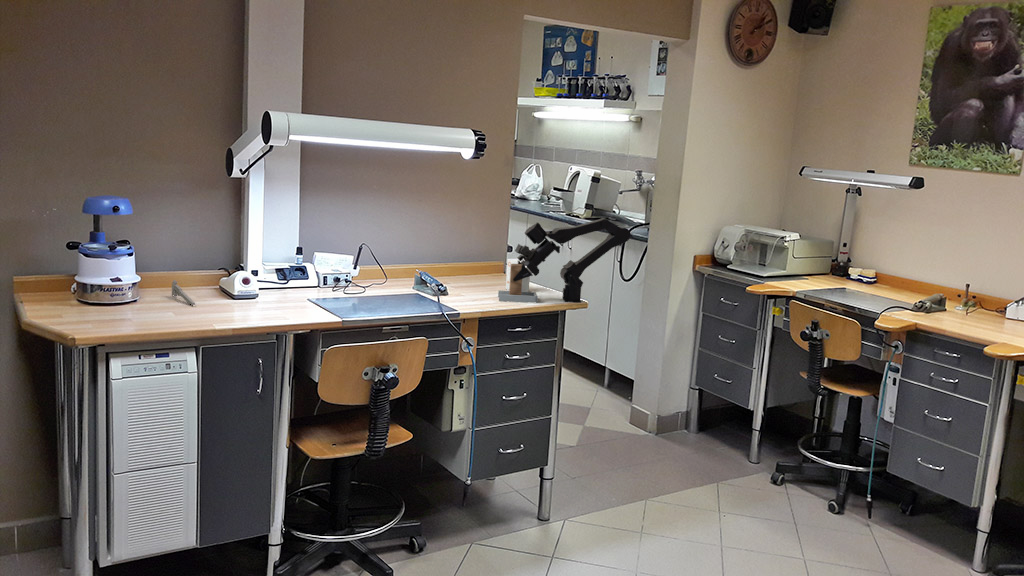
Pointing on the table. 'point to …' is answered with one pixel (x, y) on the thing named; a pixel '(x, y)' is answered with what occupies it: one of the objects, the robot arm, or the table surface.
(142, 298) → the table surface
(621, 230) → the robot arm
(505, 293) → the channel
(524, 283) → the small box
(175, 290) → the caliper
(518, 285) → the walnut block
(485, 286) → the table surface
